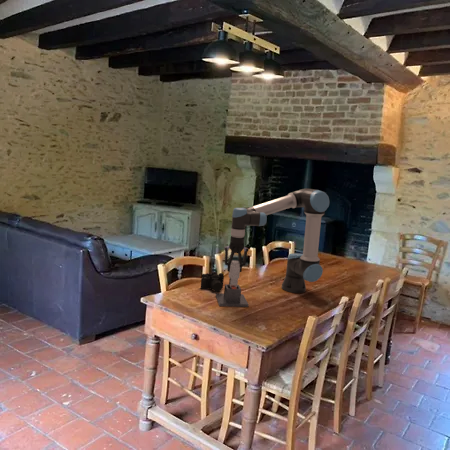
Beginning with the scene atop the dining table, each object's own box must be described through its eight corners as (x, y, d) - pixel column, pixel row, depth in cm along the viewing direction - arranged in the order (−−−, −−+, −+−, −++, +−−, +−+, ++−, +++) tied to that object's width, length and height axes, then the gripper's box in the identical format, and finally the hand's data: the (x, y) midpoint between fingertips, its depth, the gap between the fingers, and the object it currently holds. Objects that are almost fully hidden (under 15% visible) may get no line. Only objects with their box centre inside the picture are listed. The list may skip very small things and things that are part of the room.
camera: (203, 293, 245) (205, 276, 243) (199, 287, 255) (200, 271, 253) (226, 292, 249) (227, 276, 247) (221, 286, 259) (222, 271, 257)
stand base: (242, 296, 244) (244, 281, 242) (248, 307, 228) (250, 290, 227) (215, 295, 241) (217, 280, 240) (219, 306, 226) (220, 289, 224)
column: (234, 296, 238) (237, 260, 234) (236, 300, 232) (239, 263, 228) (227, 296, 237) (230, 260, 233) (229, 299, 231) (232, 263, 228)
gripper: (251, 235, 233) (247, 276, 237) (221, 234, 231) (217, 274, 235) (254, 238, 226) (250, 280, 230) (223, 236, 223) (219, 278, 227)
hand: (233, 277), depth 232 cm, fingers closed on column, 4 cm apart
